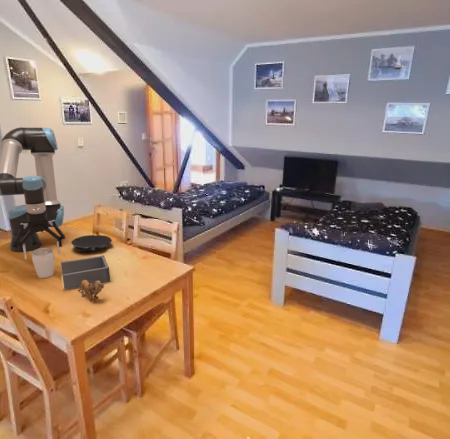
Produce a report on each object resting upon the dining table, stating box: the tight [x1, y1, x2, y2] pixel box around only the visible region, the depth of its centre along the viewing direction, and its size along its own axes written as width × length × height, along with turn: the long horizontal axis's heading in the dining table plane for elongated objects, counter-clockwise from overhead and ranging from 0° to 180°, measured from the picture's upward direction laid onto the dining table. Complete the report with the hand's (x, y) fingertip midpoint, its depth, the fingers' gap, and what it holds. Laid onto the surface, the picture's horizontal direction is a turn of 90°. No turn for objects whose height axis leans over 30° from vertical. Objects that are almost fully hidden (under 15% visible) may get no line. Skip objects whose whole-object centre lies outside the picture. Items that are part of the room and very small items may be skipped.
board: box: [71, 234, 113, 254], centre depth 189 cm, size 22×22×5 cm
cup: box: [31, 247, 55, 279], centre depth 157 cm, size 9×9×12 cm
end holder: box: [60, 255, 111, 291], centre depth 156 cm, size 14×20×7 cm
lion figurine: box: [77, 280, 105, 303], centre depth 141 cm, size 15×5×9 cm, turn 63°
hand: (42, 255), depth 155 cm, fingers open, 13 cm apart
